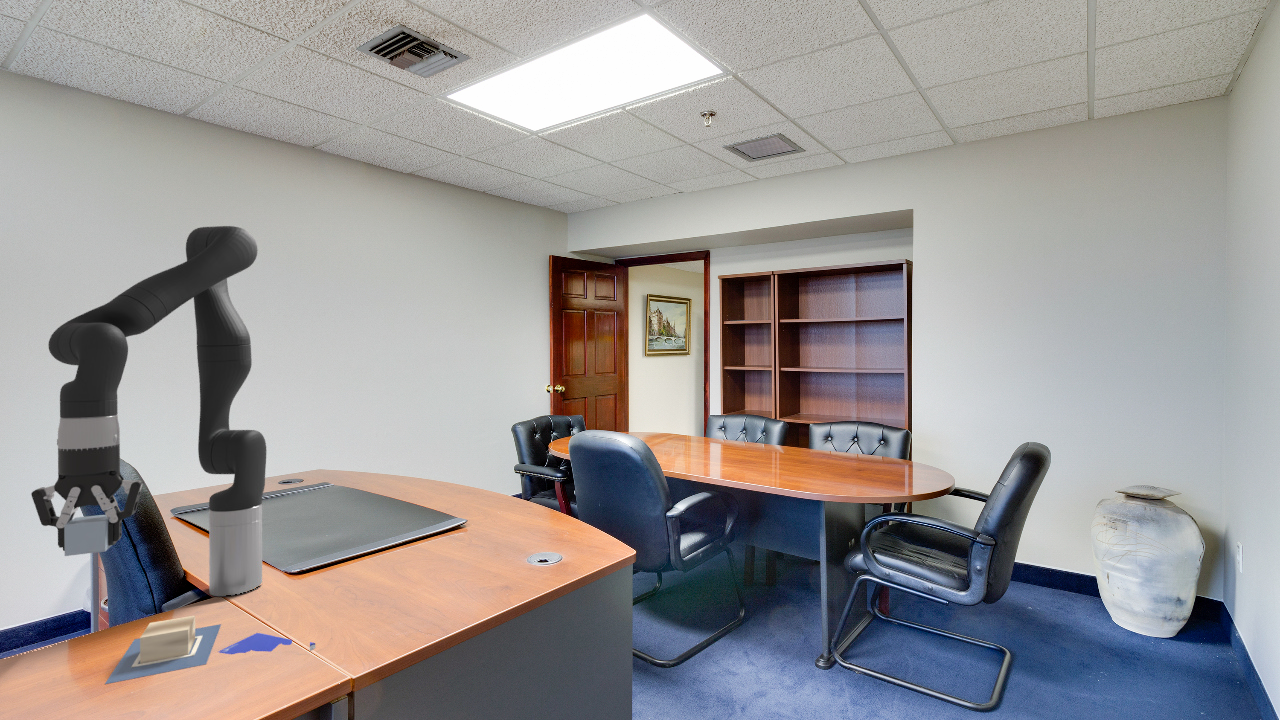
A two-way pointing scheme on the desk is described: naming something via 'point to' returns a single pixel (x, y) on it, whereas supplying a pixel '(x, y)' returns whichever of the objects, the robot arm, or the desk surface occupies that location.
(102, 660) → the desk surface
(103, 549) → the slate block
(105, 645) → the desk surface
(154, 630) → the maple base block
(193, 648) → the board
